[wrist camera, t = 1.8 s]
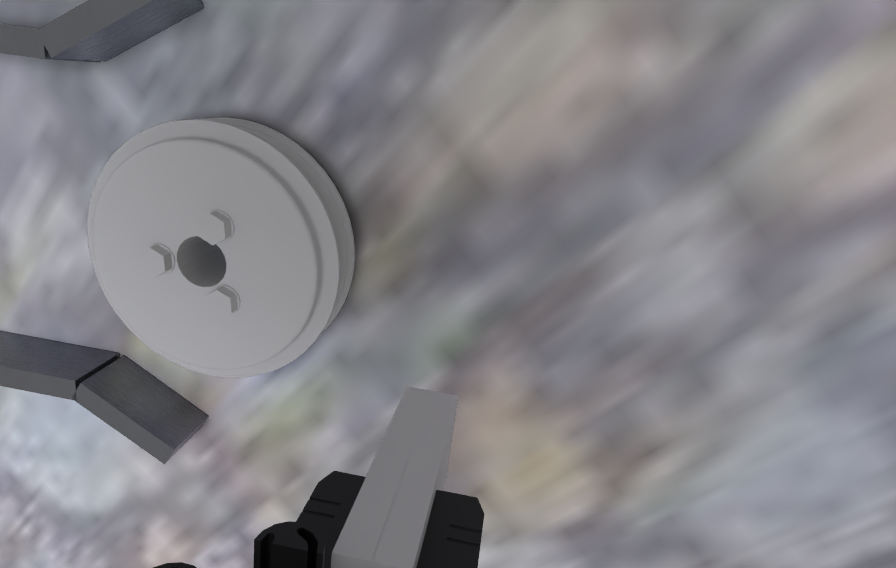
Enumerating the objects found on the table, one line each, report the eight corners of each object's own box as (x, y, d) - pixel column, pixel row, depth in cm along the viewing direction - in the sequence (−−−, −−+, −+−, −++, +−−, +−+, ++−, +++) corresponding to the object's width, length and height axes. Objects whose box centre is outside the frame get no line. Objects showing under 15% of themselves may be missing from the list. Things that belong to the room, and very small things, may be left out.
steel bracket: (-188, -64, 30) (-279, -83, 26) (204, -17, 28) (158, -32, 24) (-101, 370, 37) (-163, 397, 34) (208, 431, 35) (174, 466, 32)
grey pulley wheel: (358, 122, 29) (324, 128, 24) (361, 359, 33) (332, 404, 28) (118, 111, 30) (41, 115, 26) (149, 338, 34) (87, 378, 30)
